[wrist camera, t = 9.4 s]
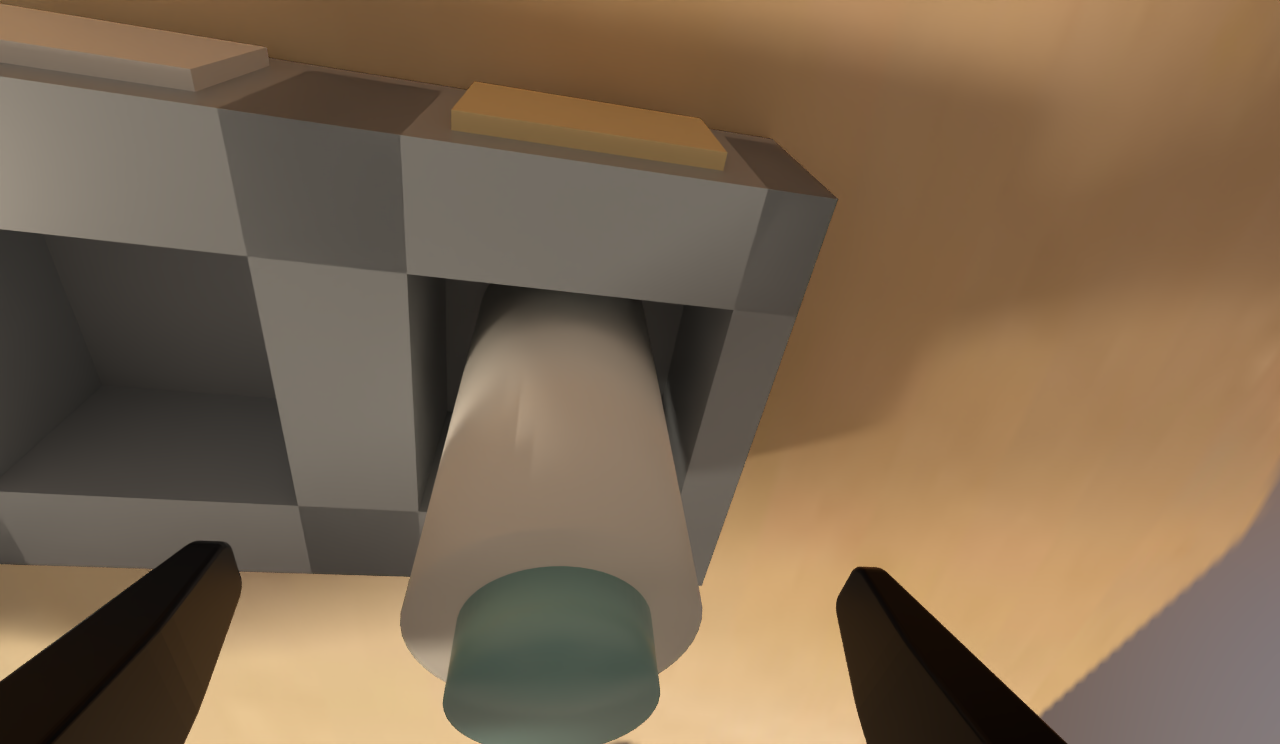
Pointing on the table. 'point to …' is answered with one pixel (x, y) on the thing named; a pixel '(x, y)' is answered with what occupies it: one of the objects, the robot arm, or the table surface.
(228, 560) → the robot arm
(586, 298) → the beige and green cylinder
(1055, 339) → the table surface
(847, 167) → the table surface
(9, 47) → the socket block
